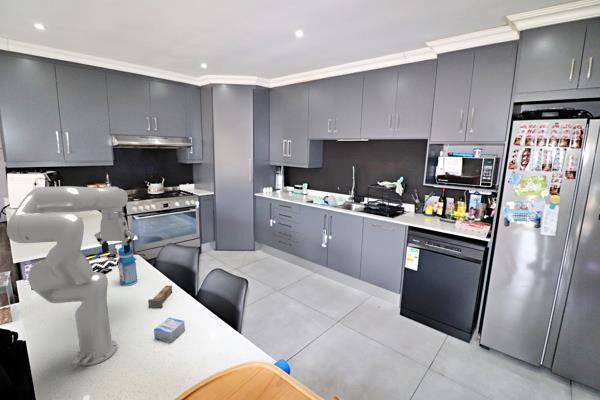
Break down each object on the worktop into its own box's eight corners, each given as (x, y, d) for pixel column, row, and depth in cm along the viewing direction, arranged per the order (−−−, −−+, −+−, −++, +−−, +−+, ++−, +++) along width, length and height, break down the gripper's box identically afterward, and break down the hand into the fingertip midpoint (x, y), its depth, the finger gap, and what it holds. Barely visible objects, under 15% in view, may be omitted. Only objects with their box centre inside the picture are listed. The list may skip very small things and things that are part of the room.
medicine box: (184, 320, 120) (169, 333, 112) (185, 330, 121) (170, 343, 112) (169, 316, 122) (153, 329, 114) (169, 326, 123) (154, 339, 115)
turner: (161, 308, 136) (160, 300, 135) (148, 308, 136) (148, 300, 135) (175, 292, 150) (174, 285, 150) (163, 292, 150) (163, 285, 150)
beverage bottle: (132, 286, 156) (128, 251, 152) (116, 286, 156) (112, 251, 152) (140, 279, 164) (137, 246, 160) (126, 279, 164) (122, 245, 160)
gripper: (137, 213, 129) (140, 249, 132) (98, 212, 129) (103, 249, 133) (126, 217, 122) (130, 256, 125) (86, 217, 122) (91, 255, 125)
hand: (116, 252), depth 129 cm, fingers open, 9 cm apart
